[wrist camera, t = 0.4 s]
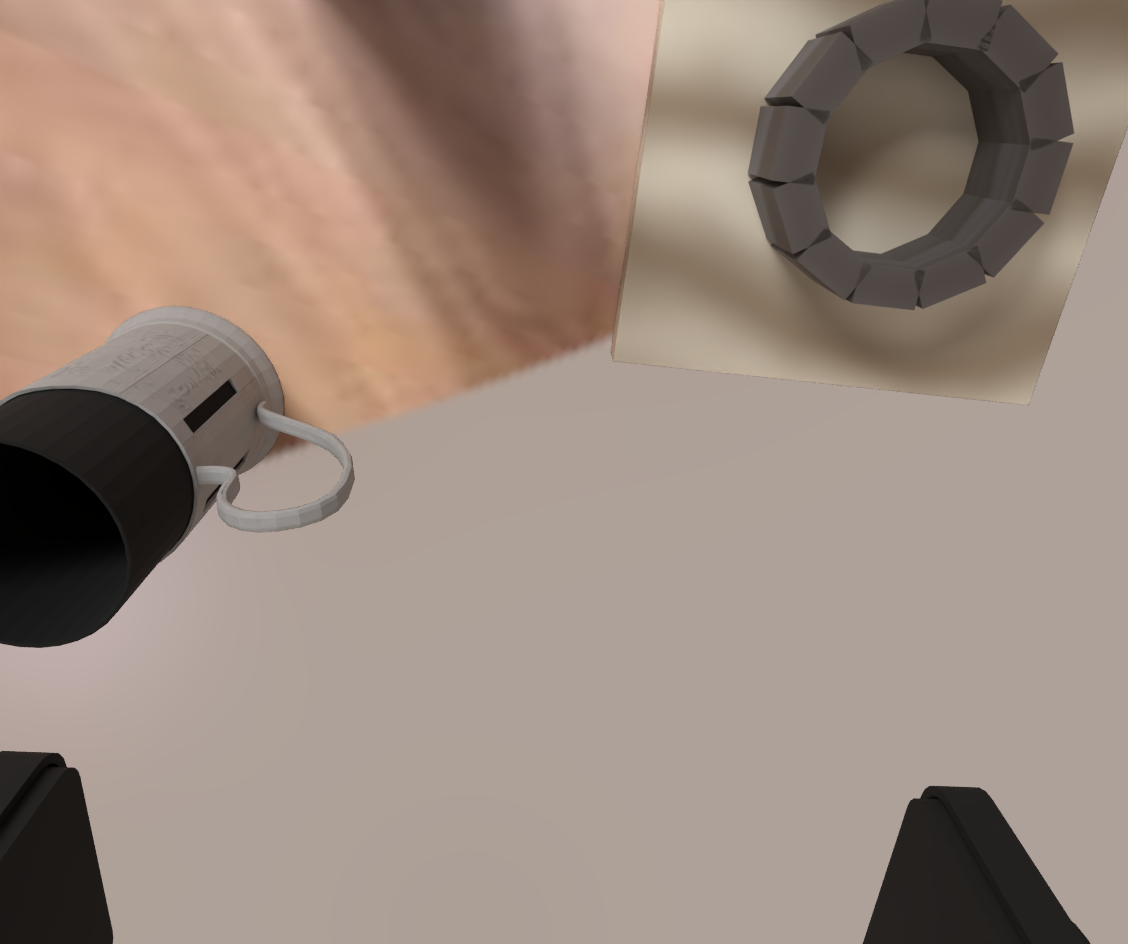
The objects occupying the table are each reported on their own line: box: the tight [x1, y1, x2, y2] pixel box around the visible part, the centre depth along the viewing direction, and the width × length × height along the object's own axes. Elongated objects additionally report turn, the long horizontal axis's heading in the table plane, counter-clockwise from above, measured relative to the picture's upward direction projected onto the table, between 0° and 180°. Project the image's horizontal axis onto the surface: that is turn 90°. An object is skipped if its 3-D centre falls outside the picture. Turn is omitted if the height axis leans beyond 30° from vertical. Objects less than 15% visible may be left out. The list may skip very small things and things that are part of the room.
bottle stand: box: [611, 0, 1128, 405], centre depth 34 cm, size 20×20×6 cm
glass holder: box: [0, 306, 355, 648], centre depth 33 cm, size 9×14×15 cm, turn 91°
